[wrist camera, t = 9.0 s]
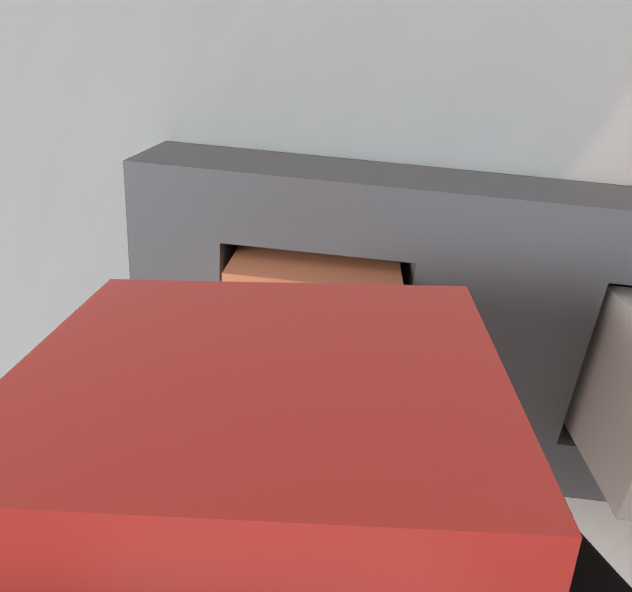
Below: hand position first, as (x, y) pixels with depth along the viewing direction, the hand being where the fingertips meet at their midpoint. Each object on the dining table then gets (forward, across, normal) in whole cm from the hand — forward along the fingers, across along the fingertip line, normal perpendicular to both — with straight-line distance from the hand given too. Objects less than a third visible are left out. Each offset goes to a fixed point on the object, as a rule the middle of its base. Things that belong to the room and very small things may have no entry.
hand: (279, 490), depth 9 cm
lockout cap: (+1, 0, 0) cm, 1 cm away
